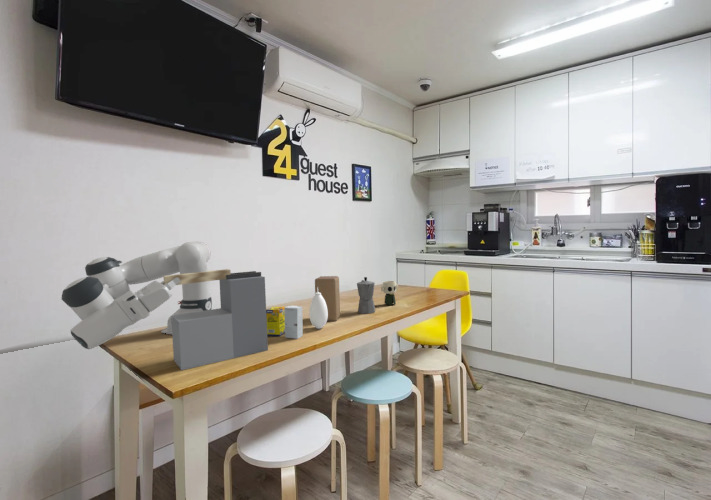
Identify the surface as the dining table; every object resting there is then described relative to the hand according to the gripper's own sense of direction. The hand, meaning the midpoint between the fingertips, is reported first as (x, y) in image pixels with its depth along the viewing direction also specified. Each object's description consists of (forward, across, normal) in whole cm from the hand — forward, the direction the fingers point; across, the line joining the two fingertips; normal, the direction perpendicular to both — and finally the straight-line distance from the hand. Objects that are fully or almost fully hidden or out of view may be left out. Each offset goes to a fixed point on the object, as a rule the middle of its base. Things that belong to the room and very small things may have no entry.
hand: (177, 278), depth 113 cm
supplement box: (+19, -12, -43) cm, 48 cm away
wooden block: (+45, -19, -58) cm, 76 cm away
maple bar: (+5, 0, -5) cm, 7 cm away
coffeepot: (+65, -19, -70) cm, 97 cm away
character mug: (+83, -23, -80) cm, 117 cm away
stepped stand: (-3, -1, -30) cm, 30 cm away
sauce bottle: (+34, -8, -52) cm, 63 cm away
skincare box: (+22, -3, -45) cm, 50 cm away
